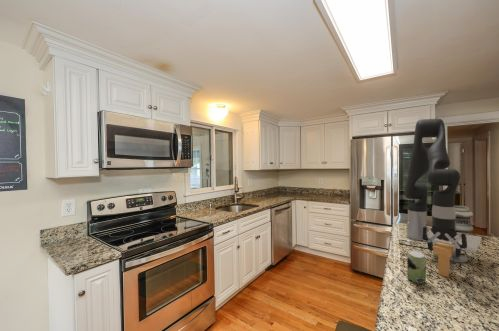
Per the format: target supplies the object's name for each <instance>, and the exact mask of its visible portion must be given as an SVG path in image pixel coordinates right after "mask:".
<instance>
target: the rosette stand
mask: <svg viewBox="0 0 499 331" xmlns="http://www.w3.org/2000/svg"><path fill="white" fill-rule="evenodd" d="M433 235H434V234H433V233H432V231H431V230H430V231H429V232H427V238H431V237H432V236H433ZM466 237H467V248H466V249H464V248H463V249H462V250H465V251H470V252H475V253H476V252H477V251H478V248H479V246H480V244H481V241H482V236H478V235H473V234H467V233H466ZM455 239H456V240H457V241H458V243H459V244H460V245H462V238H460V237H459V236H458V235H456V236H455ZM422 242H426V241H425V240H423V241H422ZM432 242H433V244H436V243H437V242H439V243H444V244H449V245H454V244H452V243H451V241H445V240H440V239H438V238H435V239H434V240H433V241H432ZM468 261H469V259H468V257H466V256H465V255H462V254H461V255H460V257H458V258H457V257H456V247H455V245H454V254H453V255H452V257H450V262H451V263H458V264H466V263H468Z"/></svg>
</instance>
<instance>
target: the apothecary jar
mask: <svg viewBox="0 0 499 331" xmlns="http://www.w3.org/2000/svg"><path fill="white" fill-rule="evenodd" d="M455 214H456V217H455V218H456V232H459V233H463V232H465V233H466V234H467V233H471V232H473V231H474V227H473V225H472V224H471V218H472V217H473V216H474V213H473V212H472V211H471V209H470V207H468V206H465V205H455Z"/></svg>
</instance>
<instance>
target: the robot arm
mask: <svg viewBox="0 0 499 331" xmlns="http://www.w3.org/2000/svg"><path fill="white" fill-rule="evenodd" d="M424 138H435V141H434V142H433V144H431V146H430V147H429V148H428V149H427V148H426V147H425V144H424V143H423V139H424ZM446 140H447V138H446V128H445V123H444V120H443V119H441V118H426V119H425V118H424V119H423V118H422V119H419V120H417V121H416V123H415V127H414V139H413V147H412V153H411V156H410V161H409V169H408V173H407V174H408V176H407V179H406V183H405V186H404V191H403V192H404V197H405V198H406V199H410V200H417V201H416V202H412V203H409V204H407V222H406V238H407V237H408V239H410V238H411V239H410V240H413V239H415V240H414V241H417V240H425V241H424V242H427V249H428V250H429V252H433V246H434V243H433V242H432V241H433V240H434V239H435V238H438V239H440V240H445V241H451V243H452V244H454V245H455V247H456V257H457V258H458V257H460V255H462V250H465V249H466V248H467V237H466V234H467V233H465V232H463V233H459V232H456V218H455V217H456V214H455V206H456V205H455V197H456V193H457V192H456V191H457V189H458V186H459V183H460V182H461V174H460V171H458V170H457V169H456V168H455V169H454V168H449V167H450V165H451V162H450V161H451V160H450V157H449V155H448V154H449V153H448V151H447V150H448V149H447V142H446ZM426 174H427V176H426V180H427V182H428V183H429V185H432V186H436V187H437V186H439V187H446V186H447V187H446V188H445V189H442V190H436V191H434V192H433V193H432V206H431V207H432V208H431V218H432V219H431V225H432V227H429V226H428V211H427V210H428V195H429V194H428V193H429V190H428V186H427V185H426V184H425V183H417V182H418V181H419V179H421V178H422V177H423V176H425V175H426ZM430 231H432V233H433V234H434V235H433V236H432V237H431V238H427V234H428V233H429V232H430ZM456 235H458V236H459V237H460V238H462V245H460V244H459V243H458V241H457V240H456V239H455V236H456ZM463 248H464V249H463Z"/></svg>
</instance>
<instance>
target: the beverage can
mask: <svg viewBox="0 0 499 331" xmlns="http://www.w3.org/2000/svg"><path fill="white" fill-rule="evenodd" d="M406 256H407V258H406V261H407V262H406V263H407V267H406V268H407V270H406V275H407V279H409V280H410V281H411V280H412V281H411V282H413V281H414V282H413V283H415V282H417V283H416V284H423V283H425V282H426V281H427V280H426V279H427V257H426V256H425V254H424V253H423V252H421V251H419V250H410V251H409V252H408V254H407V255H406Z"/></svg>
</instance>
